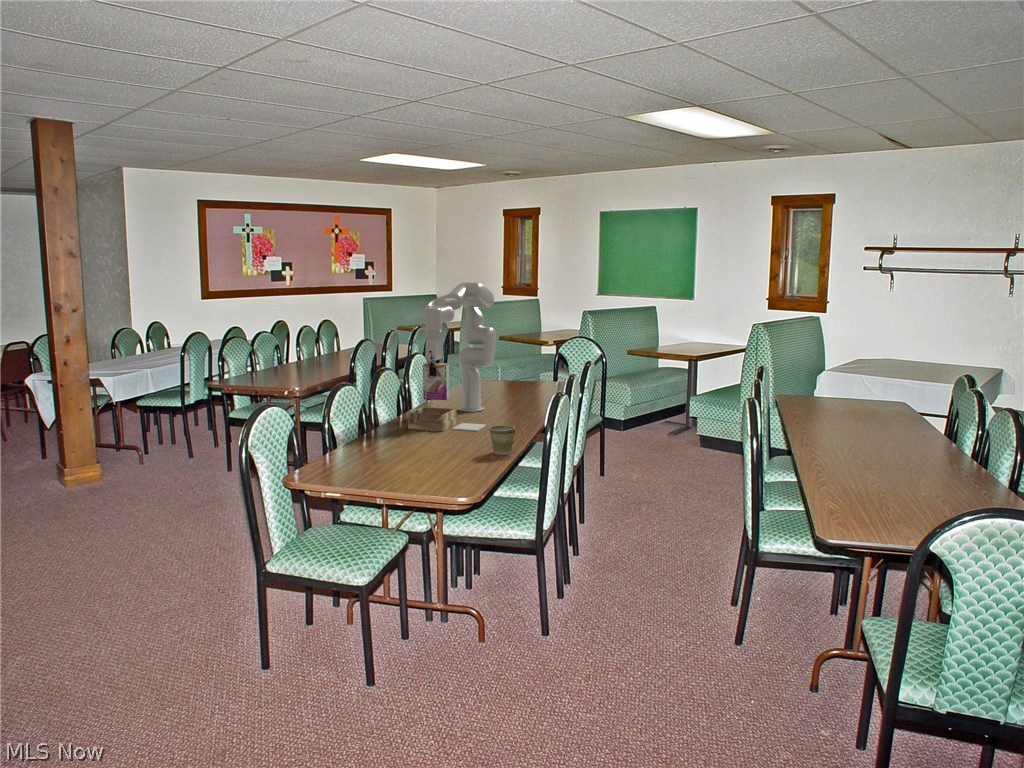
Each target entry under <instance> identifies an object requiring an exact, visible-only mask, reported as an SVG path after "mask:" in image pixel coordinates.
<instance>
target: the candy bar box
mask: <svg viewBox="0 0 1024 768" xmlns="http://www.w3.org/2000/svg"><path fill="white" fill-rule="evenodd" d="M435 367H436V376H430V375H429V364H428V362H425V363H423V364H422V381H423V384H422V385H423V388H422V389H423V400H429V401H431V400H432V401H447V400H449V399H450V364H449V363H444V362H442V363H436V364H435Z"/></svg>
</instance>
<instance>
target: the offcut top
mask: <svg viewBox="0 0 1024 768" xmlns="http://www.w3.org/2000/svg"><path fill="white" fill-rule="evenodd" d="M418 419H419V420H432V419H440V413H438V412H437V411H436V412H422V413H418Z"/></svg>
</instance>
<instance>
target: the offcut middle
mask: <svg viewBox="0 0 1024 768" xmlns="http://www.w3.org/2000/svg"><path fill="white" fill-rule="evenodd" d="M416 423H429V424H441V418H440V419H432V420H419V419H418V418H417V419H416Z"/></svg>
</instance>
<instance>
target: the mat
mask: <svg viewBox="0 0 1024 768" xmlns="http://www.w3.org/2000/svg"><path fill="white" fill-rule="evenodd" d="M486 427H487V424H486V423H485V424H484V423H483V424H482V423H469V422H468V423H466V422H461V423H460V424H456V425H455V426H453V427H451V430H452V431H466V432H467V431H468V432H478V431H480V430H482V429H484V428H486Z"/></svg>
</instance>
